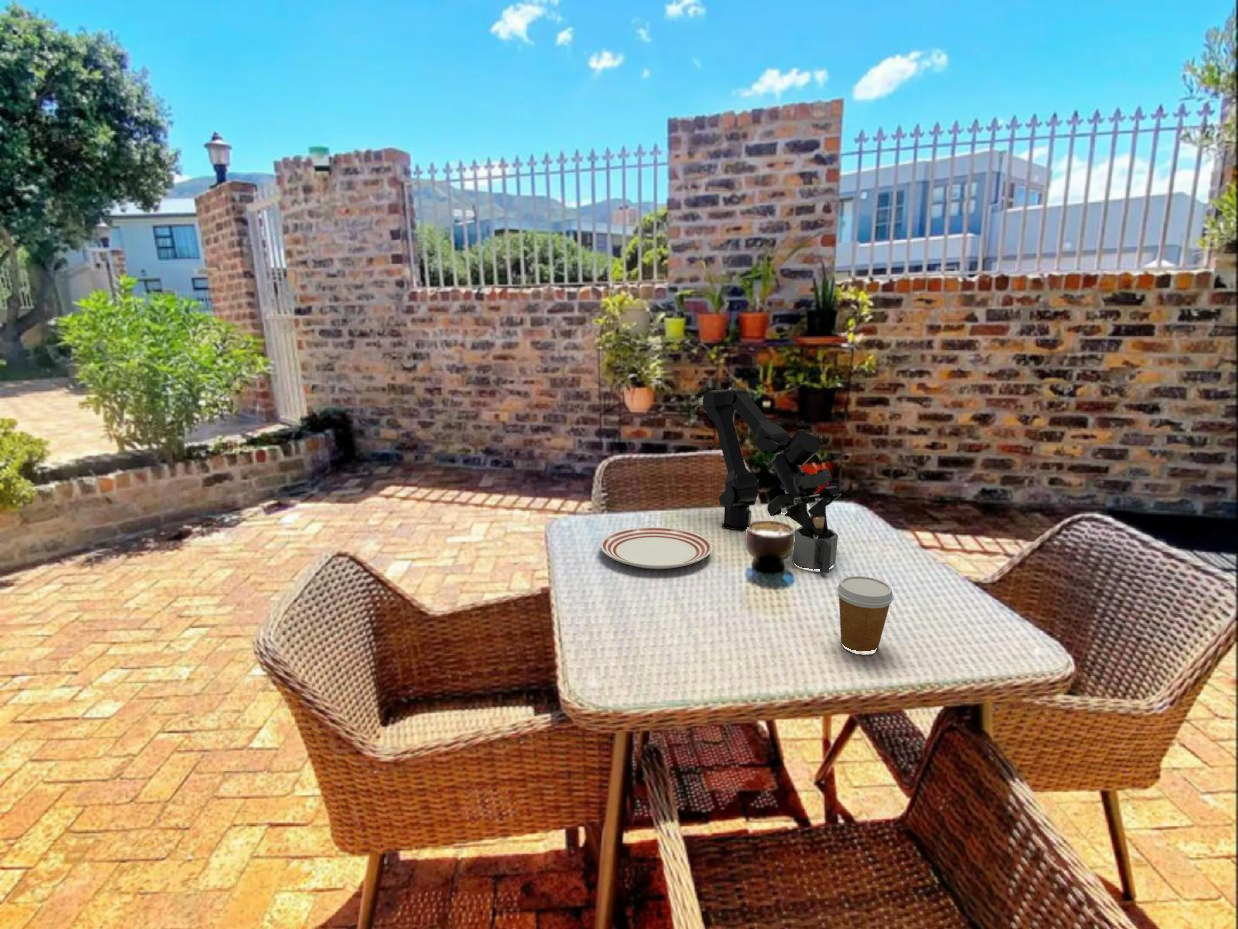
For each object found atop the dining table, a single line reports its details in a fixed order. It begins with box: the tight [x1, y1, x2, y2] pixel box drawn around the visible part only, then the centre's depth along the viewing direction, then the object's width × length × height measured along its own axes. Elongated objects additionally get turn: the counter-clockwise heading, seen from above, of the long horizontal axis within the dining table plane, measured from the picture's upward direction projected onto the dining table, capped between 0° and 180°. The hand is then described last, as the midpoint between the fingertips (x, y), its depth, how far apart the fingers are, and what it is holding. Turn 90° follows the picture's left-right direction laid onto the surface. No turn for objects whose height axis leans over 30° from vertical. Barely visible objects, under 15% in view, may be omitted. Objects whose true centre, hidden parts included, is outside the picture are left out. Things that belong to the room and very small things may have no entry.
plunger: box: [809, 514, 825, 539], centre depth 152 cm, size 7×7×11 cm
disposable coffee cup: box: [836, 575, 895, 651], centre depth 116 cm, size 10×10×12 cm
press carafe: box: [791, 526, 839, 574], centre depth 151 cm, size 12×9×8 cm
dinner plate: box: [599, 526, 713, 570], centre depth 159 cm, size 28×27×3 cm
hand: (820, 532), depth 150 cm, fingers closed on plunger, 3 cm apart
